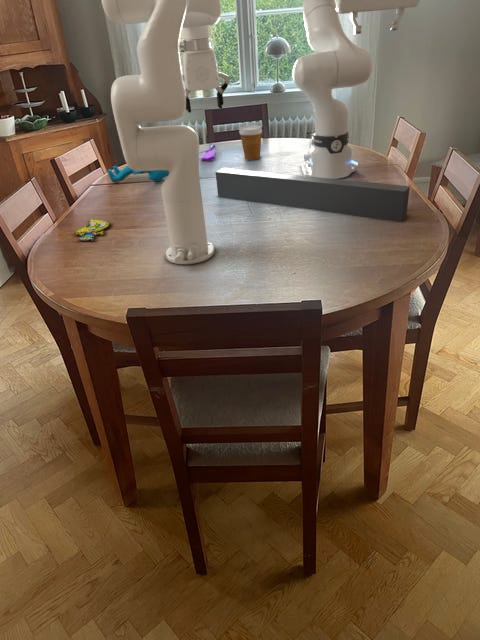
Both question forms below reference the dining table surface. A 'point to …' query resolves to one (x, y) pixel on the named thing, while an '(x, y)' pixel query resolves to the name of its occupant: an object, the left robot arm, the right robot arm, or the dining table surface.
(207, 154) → the musical instrument
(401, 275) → the dining table surface
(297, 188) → the beam
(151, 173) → the toy
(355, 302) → the dining table surface
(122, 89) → the left robot arm
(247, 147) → the beer cup
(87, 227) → the toy
